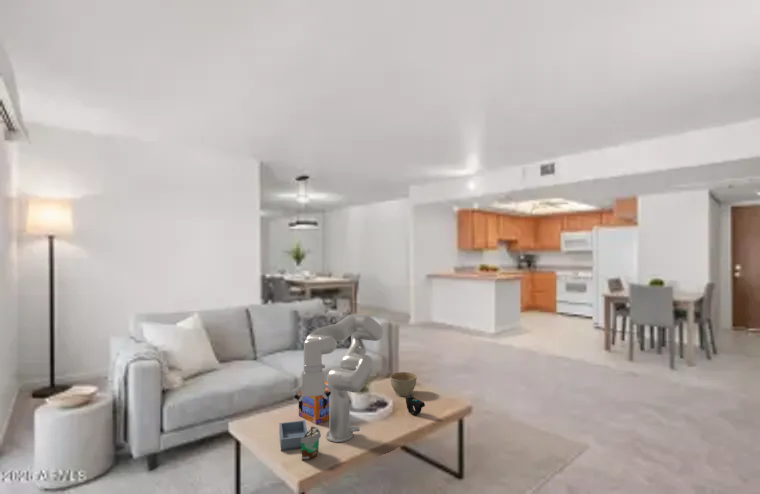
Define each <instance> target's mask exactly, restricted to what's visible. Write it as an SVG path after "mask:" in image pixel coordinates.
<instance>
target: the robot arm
mask: <svg viewBox="0 0 760 494" xmlns="http://www.w3.org/2000/svg"><path fill="white" fill-rule="evenodd" d="M383 333H384V331H383V327H382V326H381V324H380V323H379V322H377V321H376V320H375V319H374V318H373V317H371V316H370V315H366V314H356V313H353V314H351V313H350V314H348V315H347V316H346V317H344V318H343V319H341V320H339V321H338V322H337V323H335V324H330V325H327V326H323V327H320V328H318V329H316V330H314V331H312V332H311V333H309V334H308V335H307V337H306V339H305V340H304V343H303V370H302V371H301V375H300V376H301V377H300V385H299V386H297V387H296V388H294V389H292V390H291V394H292V395H293V396H294V399H296V400H297V401H298V410H299V409H300V410H301V411H302V399H303V398H304V397H309V396H319V395H322V396H323V408H324V409H325V406H327V398H328V397H329V420H328V423H329V424H328V428H329V430H328V431H327V432H326V434H325V438H326V440H328V441H329V442H334V443H342V442H347V441H350V440H351V439H352V438H353V437H354V432H360V430H361V429H360V426H357V425H351V424H350V422H351V419H350V412H351V409H350V395H349V393H358V392H360V391H361V390H362V389H363V386H364V385H365V383H366V382H367V380H368V378H369V377H370V375H371V373H372V371H373V368H374V367H373V366H374V361H373V359H372V357H371V356H370V355H368V354H366V353H367V349H366V345H365V343H364V341H372V342H374V341H375V342H377V341H380V340H381V339H382V336H383ZM349 337H350V346H349V348H348V349H347V350H346V352H345V354H344V355H343V357H342V358H341V359H340V363H339V367H340V368H339V367H334V368H332V369H330V370H329V371H328V372H327V375H326V380H325V374H324V370H323V369H325V368H326V365H325V364H322V358H323V357H322V356H323V355H328V354H332V353H333V352H334V351H335V350H336V348H337V345H338V343H337V342H340V341H344V340H346V339H348V338H349ZM325 382H327V384H325ZM325 388H327V389H328V390H329V391H328V392H327V393H326V394H325ZM299 390H300V392H301V394H300V396H299V394H298V393H299ZM297 392H298V393H297ZM348 392H349V393H348Z"/></svg>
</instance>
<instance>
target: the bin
mask: <svg viewBox="0 0 760 494" xmlns="http://www.w3.org/2000/svg"><path fill="white" fill-rule="evenodd" d="M278 429H279V431H278V432H279V443H280V452H284V451H291V450H299V449H301V450H302V446H301V437H304V436H305V435H306V433H307V432H308V431H309V430H308V427H307V424H306V419H304V420H297V421H295V420H294V421H288V422H287V421H286V422H279V428H278Z"/></svg>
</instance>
